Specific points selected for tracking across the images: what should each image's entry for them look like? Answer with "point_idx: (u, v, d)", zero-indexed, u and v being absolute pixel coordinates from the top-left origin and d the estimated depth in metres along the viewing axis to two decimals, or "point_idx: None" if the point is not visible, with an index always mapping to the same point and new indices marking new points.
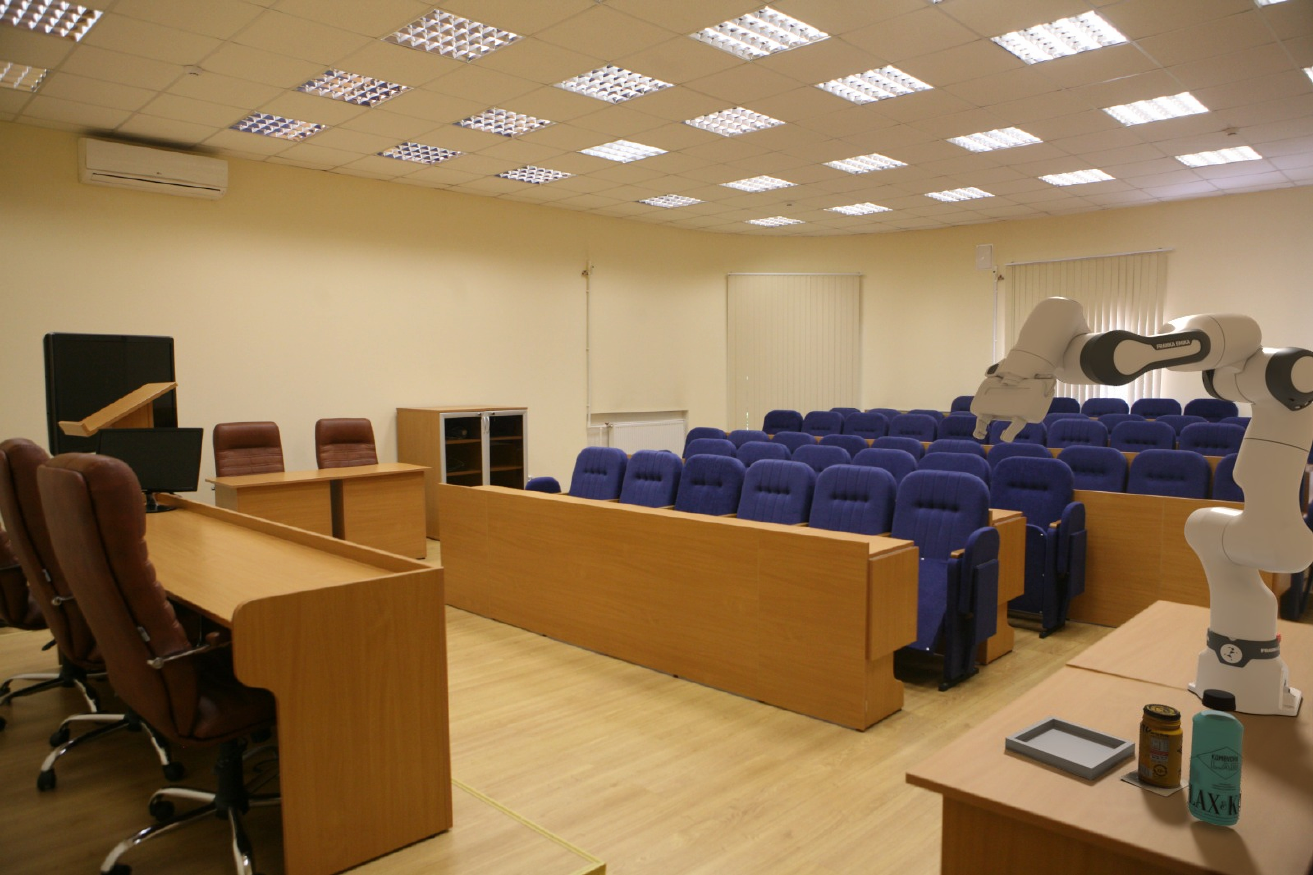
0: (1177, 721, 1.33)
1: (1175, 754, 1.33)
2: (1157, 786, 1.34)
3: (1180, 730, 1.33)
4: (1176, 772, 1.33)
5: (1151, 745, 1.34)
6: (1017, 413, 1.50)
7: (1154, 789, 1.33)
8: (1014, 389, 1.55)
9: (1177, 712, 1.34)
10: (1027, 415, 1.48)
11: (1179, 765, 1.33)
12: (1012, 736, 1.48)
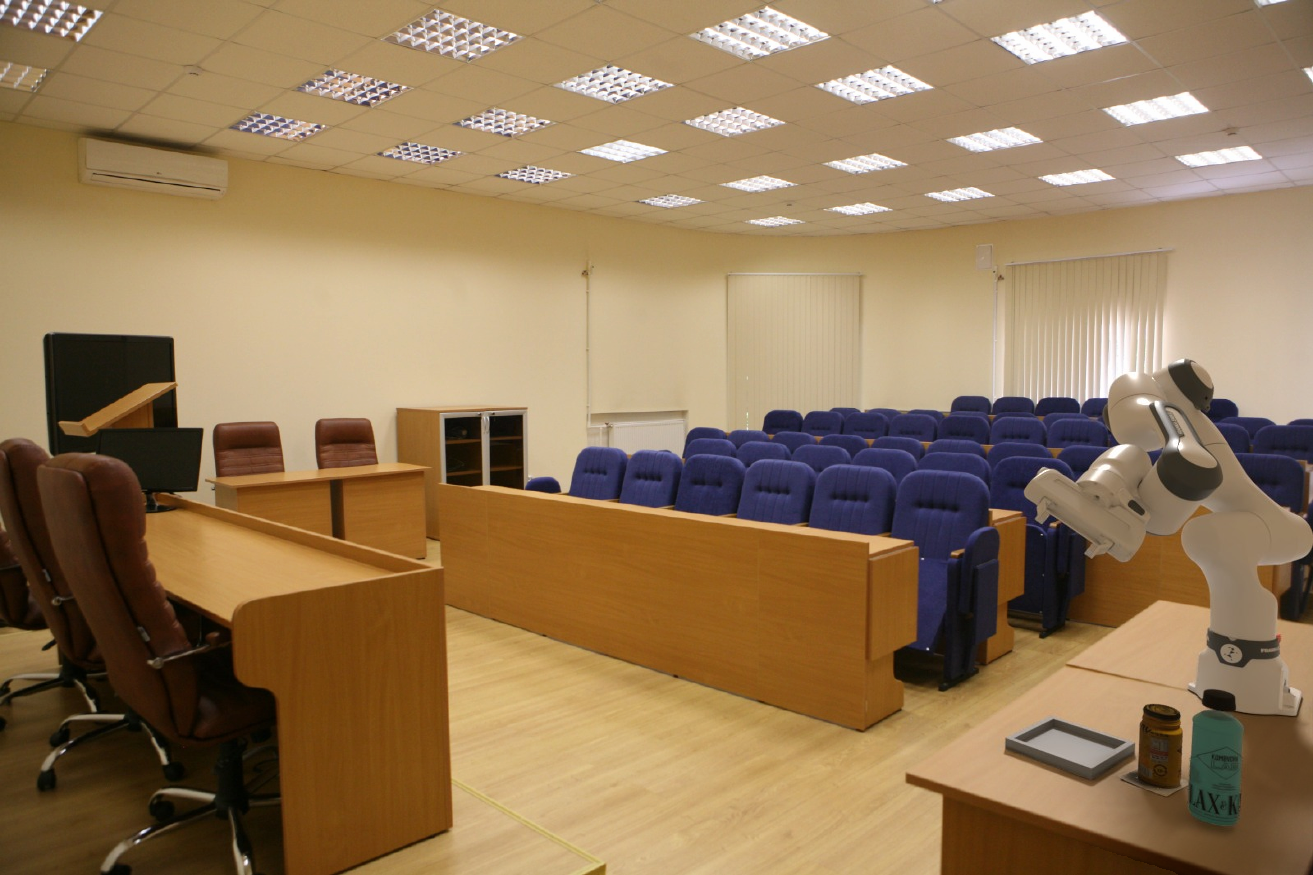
0: (1177, 721, 1.33)
1: (1175, 754, 1.33)
2: (1157, 786, 1.34)
3: (1180, 730, 1.33)
4: (1176, 771, 1.33)
5: (1151, 745, 1.34)
6: (1035, 503, 1.49)
7: (1154, 789, 1.33)
8: None
9: (1177, 712, 1.34)
10: (1025, 494, 1.50)
11: (1179, 765, 1.33)
12: (1012, 736, 1.48)
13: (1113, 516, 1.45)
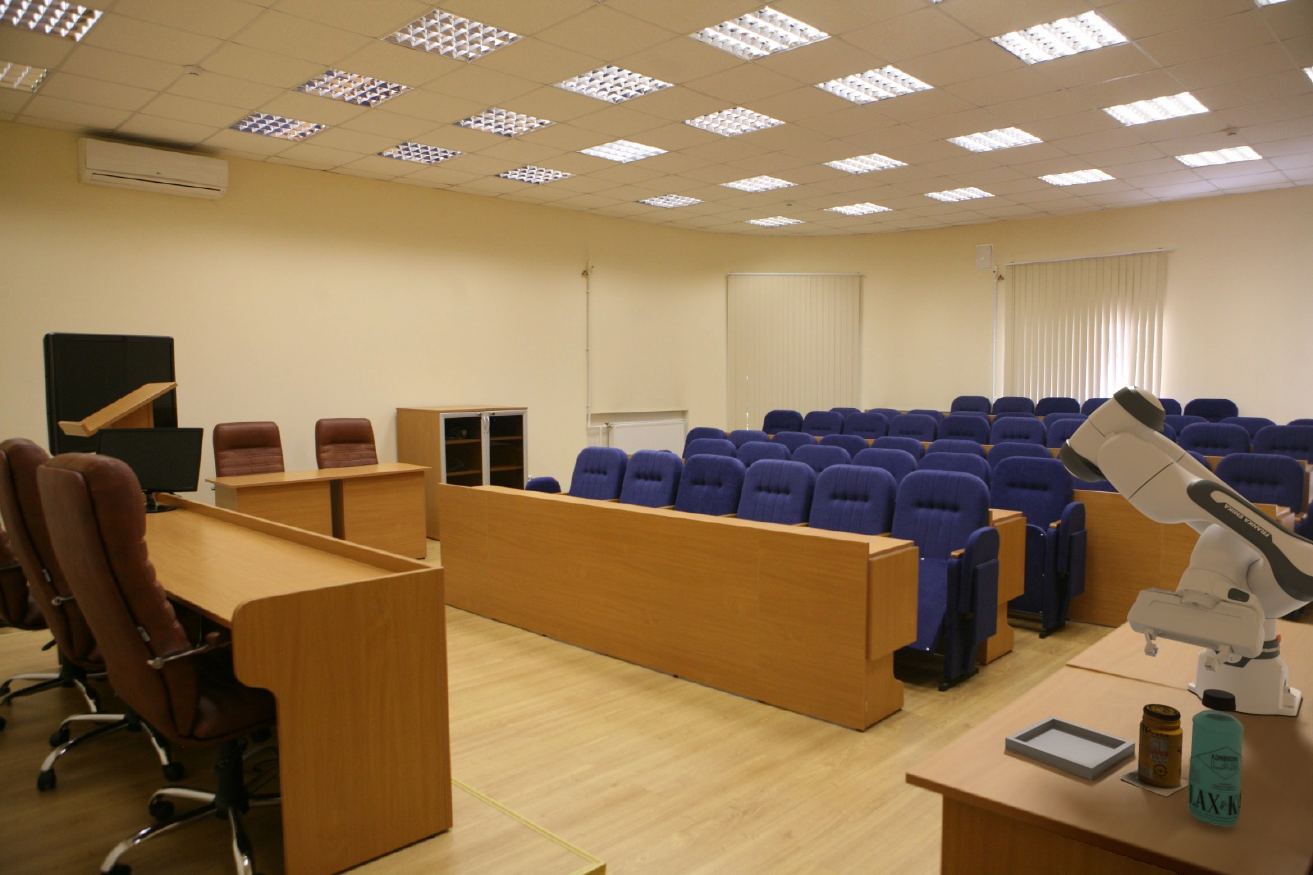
0: (1177, 721, 1.33)
1: (1175, 754, 1.33)
2: (1157, 786, 1.34)
3: (1180, 730, 1.33)
4: (1176, 771, 1.33)
5: (1151, 745, 1.34)
6: None
7: (1154, 789, 1.33)
8: None
9: (1177, 712, 1.34)
10: (1132, 629, 1.52)
11: (1179, 765, 1.33)
12: (1012, 736, 1.48)
13: (1221, 615, 1.42)
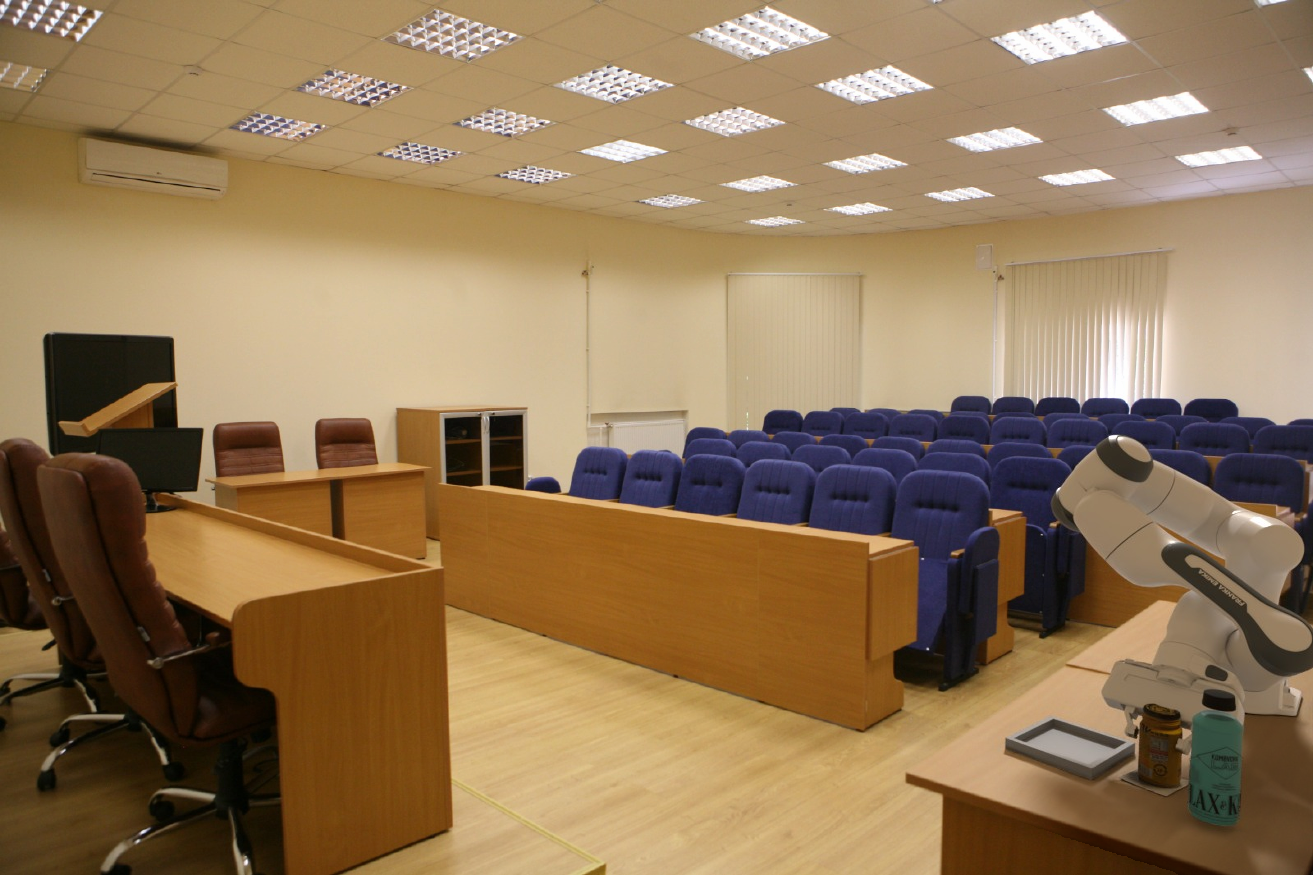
0: (1177, 720, 1.33)
1: (1175, 753, 1.33)
2: (1157, 785, 1.34)
3: (1180, 730, 1.33)
4: (1176, 771, 1.33)
5: (1151, 745, 1.34)
6: (1122, 709, 1.43)
7: (1154, 789, 1.33)
8: None
9: (1177, 712, 1.34)
10: (1107, 704, 1.45)
11: (1179, 765, 1.33)
12: (1012, 736, 1.48)
13: (1199, 693, 1.35)
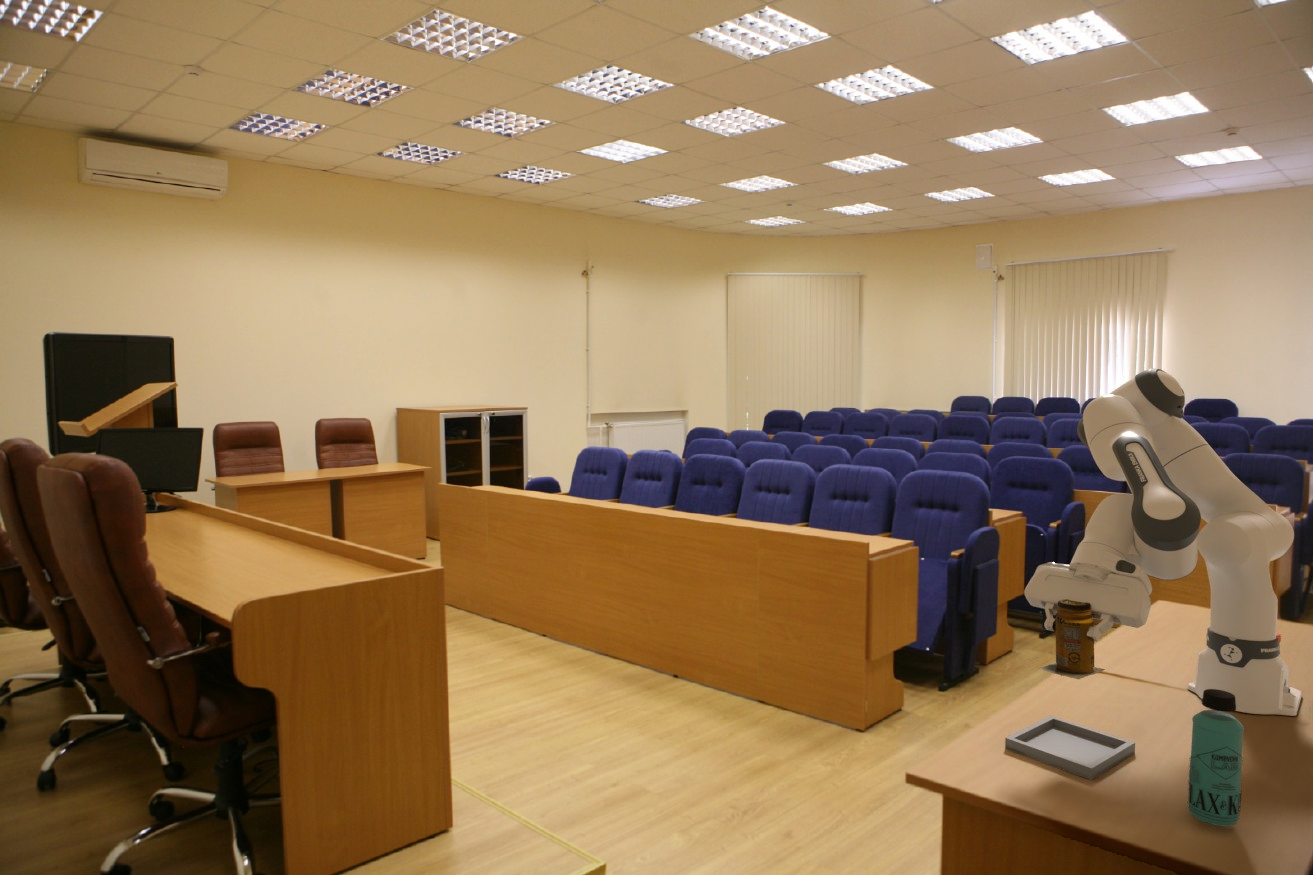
0: (1087, 611, 1.44)
1: (1087, 641, 1.43)
2: (1072, 672, 1.44)
3: (1091, 619, 1.44)
4: (1088, 658, 1.43)
5: (1065, 635, 1.44)
6: None
7: (1069, 675, 1.43)
8: None
9: (1087, 603, 1.45)
10: (1030, 604, 1.55)
11: (1091, 652, 1.44)
12: (1012, 736, 1.48)
13: (1110, 586, 1.45)
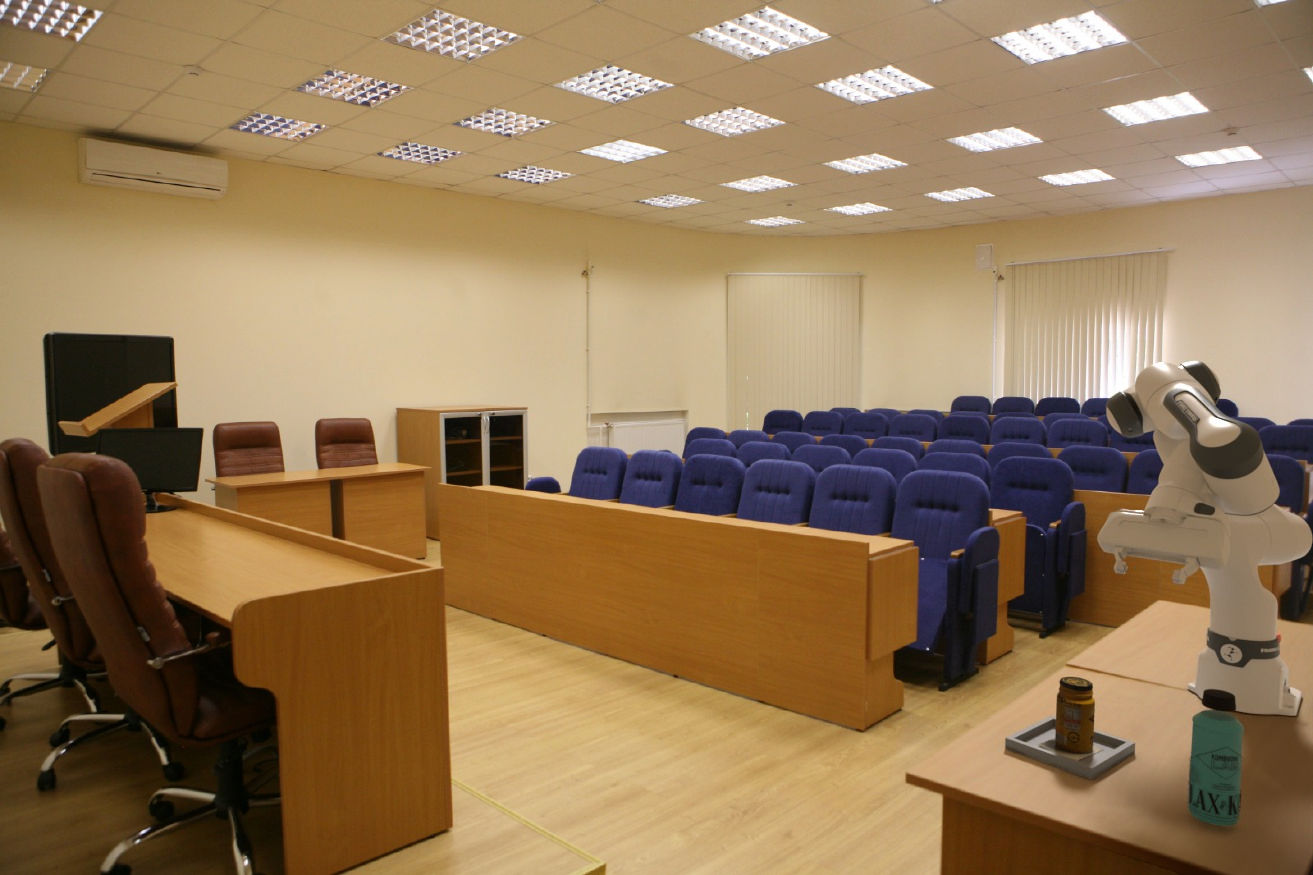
0: (1089, 692, 1.44)
1: (1087, 722, 1.44)
2: (1070, 751, 1.45)
3: (1092, 700, 1.44)
4: (1088, 738, 1.44)
5: (1065, 714, 1.45)
6: None
7: (1067, 755, 1.44)
8: None
9: (1089, 683, 1.45)
10: (1103, 550, 1.54)
11: (1091, 733, 1.44)
12: (1012, 736, 1.48)
13: (1188, 529, 1.44)
